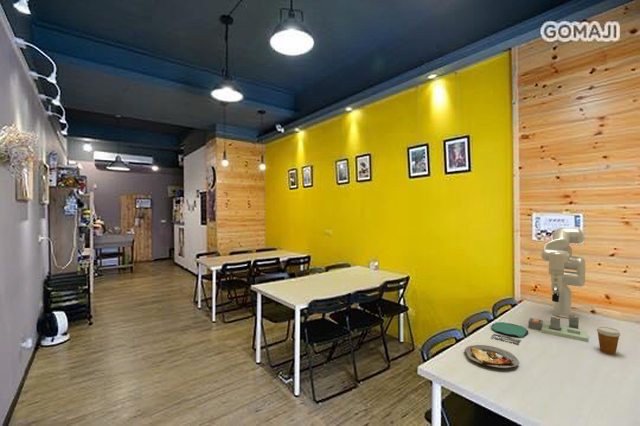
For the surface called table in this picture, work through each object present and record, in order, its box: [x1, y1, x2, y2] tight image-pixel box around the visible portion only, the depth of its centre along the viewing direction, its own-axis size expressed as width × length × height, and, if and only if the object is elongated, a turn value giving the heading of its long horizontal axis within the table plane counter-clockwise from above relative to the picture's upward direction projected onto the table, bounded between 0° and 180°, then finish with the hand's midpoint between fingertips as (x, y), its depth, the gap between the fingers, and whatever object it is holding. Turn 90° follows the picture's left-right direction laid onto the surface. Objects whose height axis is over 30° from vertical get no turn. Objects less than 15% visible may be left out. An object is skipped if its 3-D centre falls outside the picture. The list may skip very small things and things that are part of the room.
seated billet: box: [549, 316, 561, 331], centre depth 198 cm, size 5×5×8 cm
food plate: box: [464, 344, 520, 369], centre depth 164 cm, size 25×23×4 cm
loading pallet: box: [527, 317, 589, 343], centre depth 197 cm, size 29×14×5 cm, turn 52°
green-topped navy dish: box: [490, 321, 529, 346], centre depth 196 cm, size 20×30×2 cm, turn 139°
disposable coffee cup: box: [596, 326, 621, 355], centre depth 172 cm, size 10×10×12 cm
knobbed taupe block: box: [568, 315, 580, 329], centre depth 202 cm, size 5×5×8 cm
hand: (555, 299), depth 197 cm, fingers open, 9 cm apart
